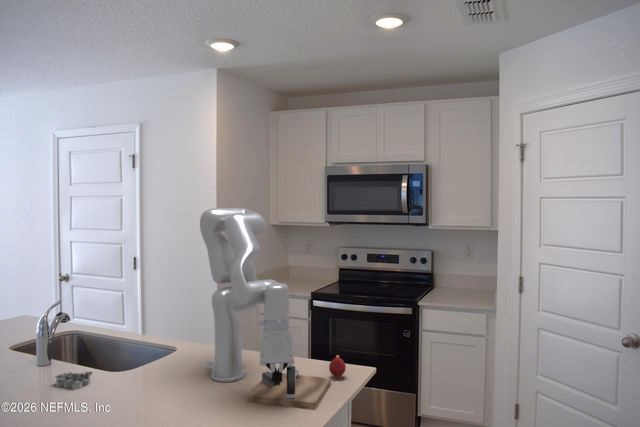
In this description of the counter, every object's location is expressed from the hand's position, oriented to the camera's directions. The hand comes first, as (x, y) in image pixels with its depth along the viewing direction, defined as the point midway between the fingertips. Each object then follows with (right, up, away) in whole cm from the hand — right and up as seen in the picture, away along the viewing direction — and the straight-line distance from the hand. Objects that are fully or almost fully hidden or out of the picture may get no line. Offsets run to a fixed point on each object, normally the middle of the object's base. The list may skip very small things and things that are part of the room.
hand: (277, 383), depth 142 cm
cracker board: (+4, -6, +9) cm, 12 cm away
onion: (+19, -6, +22) cm, 30 cm away
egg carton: (-71, -6, +15) cm, 72 cm away
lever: (+4, -4, +9) cm, 11 cm away
